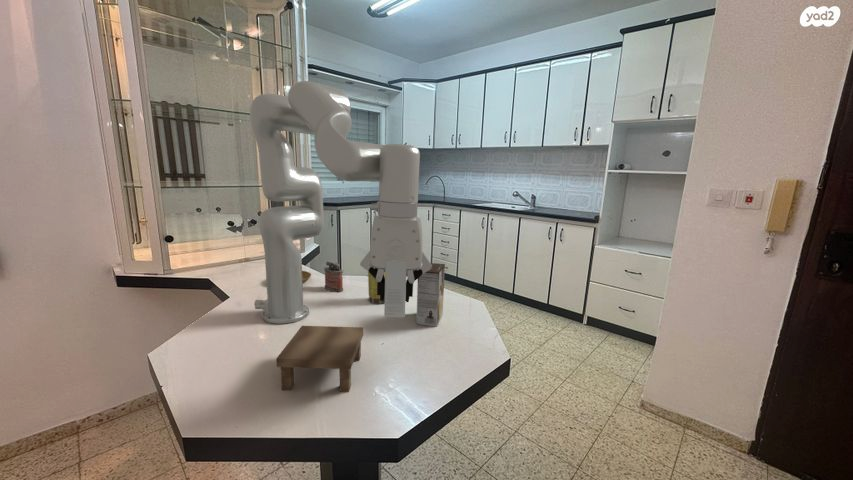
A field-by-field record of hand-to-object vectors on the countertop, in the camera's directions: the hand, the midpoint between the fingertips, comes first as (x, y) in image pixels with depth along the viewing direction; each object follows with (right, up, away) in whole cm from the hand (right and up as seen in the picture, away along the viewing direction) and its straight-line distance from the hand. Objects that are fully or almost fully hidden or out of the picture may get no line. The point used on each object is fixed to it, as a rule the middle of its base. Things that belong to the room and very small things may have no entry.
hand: (394, 298), depth 70 cm
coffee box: (+7, -12, +31) cm, 34 cm away
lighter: (-27, -6, +53) cm, 59 cm away
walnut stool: (-15, -16, +3) cm, 22 cm away
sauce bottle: (-10, -9, +43) cm, 45 cm away
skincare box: (0, -3, +1) cm, 3 cm away
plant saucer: (-45, -4, +59) cm, 74 cm away
